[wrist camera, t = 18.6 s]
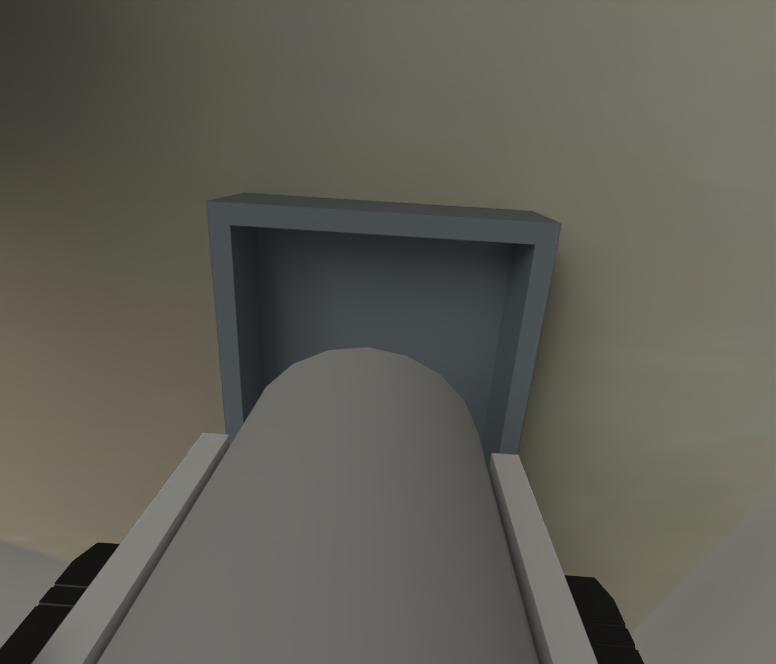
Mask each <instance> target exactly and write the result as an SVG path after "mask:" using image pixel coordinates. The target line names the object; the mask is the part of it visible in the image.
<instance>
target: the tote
mask: <svg viewBox="0 0 776 664" xmlns="http://www.w3.org/2000/svg"><path fill="white" fill-rule="evenodd" d="M207 213H208V225H209V237H210V249H211V261H212V273H213V285H214V297H215V309H216V321H217V333H218V345H219V357H220V369H221V381H222V393H223V405H224V417H225V429H226V434H228V435H229V443H230V445H231V444H232V442H233V440H234V439H235V437H236V435H237V434H238V432H239V430H240V429H241V427H242V426H243V424H244V422H245V421H246V419H247V417H248V416H249V414H250V413H251V411H252V409H253V408H254V406H255V404H256V403H257V401H258V399H259V398H260V396H261V395H262V393H263V391H264V390H265V388H266V387H267V386H268V385H269V384H270V383H271V382H272V381H274V380H275V379H276V378H277V377H278V376H280V375H281V374H282V373H283V372H284V371H285V370H287V369H288V368H289V367H290V366H291V365H292V364H294V363H297V362H300V361H302V360H305V359H307V358H310V357H312V356H315V355H317V354H320V353H322V352H325V351H327V350H338V349H351V348H365V347H369V348H373V349H378V350H382V351H387V352H391V353H396V354H401V355H405V356H408V357H410V358H411V359H413V360H415V361H417V362H419V363H420V364H422V365H424V366H426V367H428V368H429V369H431V370H433V371H435V372H436V373H438V374H440V375H441V376H442V377H443V378H444V379H445V380H446V381H447V382H448V383H449V385H450V386H451V387H452V388H453V389H454V390H455V391H456V392H457V393H458V394H459V395H460V396H461V398H462V399H463V400H464V401H465V403H466V405H467V407H468V410H469V412H470V414H471V417H472V419H473V422H474V424H475V426H476V429H477V431H478V434H479V438H480V442H481V445H482V449H483V453H484V457H485V461H486V464H487V468H488V472H489V466H490V460H491V454H492V453H499V454H513V455H517V454H518V449H519V444H520V439H521V433H522V428H523V423H524V418H525V413H526V407H527V402H528V397H529V392H530V387H531V381H532V376H533V371H534V366H535V360H536V355H537V350H538V345H539V340H540V334H541V329H542V324H543V319H544V314H545V308H546V303H547V298H548V293H549V287H550V282H551V277H552V272H553V267H554V261H555V256H556V251H557V246H558V241H559V235H560V230H561V225H562V223H559V222H557V221H554V220H552V219H550V218H547V217H545V216H543V215H540V214H538V213H536V212H533V211H522V210H506V209H490V208H474V207H458V206H442V205H426V204H410V203H394V202H378V201H362V200H347V199H331V198H315V197H299V196H283V195H267V194H251V193H241V194H237V195H232V196H228V197H223V198H219V199H214V200H210V201H207Z"/></svg>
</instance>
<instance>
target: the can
mask: <svg viewBox="0 0 776 664" xmlns="http://www.w3.org/2000/svg"><path fill="white" fill-rule="evenodd" d="M97 664H539V661H538V657H537V653H536V649H535V645H534V642H533V638H532V634H531V630H530V627H529V623H528V619H527V615H526V611H525V608H524V604H523V600H522V596H521V593H520V589H519V585H518V581H517V578H516V574H515V570H514V566H513V562H512V559H511V555H510V551H509V547H508V544H507V540H506V536H505V532H504V528H503V525H502V521H501V517H500V513H499V510H498V506H497V502H496V498H495V495H494V491H493V487H492V483H491V479H490V476H489V472H488V468H487V464H486V461H485V457H484V453H483V449H482V445H481V442H480V438H479V434H478V431H477V429H476V426H475V424H474V422H473V419H472V417H471V414H470V412H469V410H468V407H467V405H466V403H465V401H464V400H463V399H462V398H461V396H460V395H459V394H458V393H457V392H456V391H455V390H454V389H453V388H452V387H451V386H450V385H449V383H448V382H447V381H446V380H445V379H444V378H443V377H442V376H441V375H440V374H438V373H436V372H435V371H433V370H431V369H429V368H428V367H426V366H424V365H422V364H420V363H419V362H417V361H415V360H413V359H411V358H410V357H408V356H405V355H401V354H396V353H391V352H387V351H382V350H378V349H373V348H369V347H365V348H351V349H338V350H327V351H325V352H322V353H320V354H317V355H315V356H312V357H310V358H307V359H305V360H302V361H300V362H297V363H294V364H292V365H291V366H290V367H289V368H288V369H287V370H285V371H284V372H283V373H282V374H281V375H280V376H278V377H277V378H276V379H275V380H274V381H272V382H271V383H270V384H269V385H268V386H267V387H266V388H265V390H264V391H263V393H262V395H261V396H260V398H259V399H258V401H257V403H256V404H255V406H254V408H253V409H252V411H251V413H250V414H249V416H248V417H247V419H246V421H245V422H244V424H243V426H242V427H241V429H240V430H239V432H238V434H237V435H236V437H235V439H234V440H233V442H232V444H231V445H230V447H229V448H228V450H227V452H226V453H225V455H224V457H223V458H222V460H221V462H220V463H219V465H218V466H217V468H216V470H215V471H214V473H213V475H212V476H211V478H210V480H209V481H208V483H207V484H206V486H205V488H204V489H203V491H202V493H201V494H200V496H199V497H198V499H197V501H196V502H195V504H194V506H193V507H192V509H191V511H190V512H189V514H188V515H187V517H186V519H185V520H184V522H183V524H182V525H181V527H180V529H179V530H178V532H177V533H176V535H175V537H174V538H173V540H172V542H171V543H170V545H169V547H168V548H167V550H166V551H165V553H164V555H163V556H162V558H161V560H160V561H159V563H158V564H157V566H156V568H155V569H154V571H153V573H152V574H151V576H150V578H149V579H148V581H147V582H146V584H145V586H144V587H143V589H142V591H141V592H140V594H139V596H138V597H137V599H136V600H135V602H134V604H133V605H132V607H131V609H130V610H129V612H128V614H127V615H126V617H125V618H124V620H123V622H122V623H121V625H120V627H119V628H118V630H117V631H116V633H115V635H114V636H113V638H112V640H111V641H110V643H109V645H108V646H107V648H106V649H105V651H104V653H103V654H102V656H101V658H100V659H99V661H98V663H97Z"/></svg>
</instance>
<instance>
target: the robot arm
mask: <svg viewBox="0 0 776 664" xmlns="http://www.w3.org/2000/svg"><path fill="white" fill-rule="evenodd" d="M229 447H230V443H229V435H228V434H213V433H202V434H201V435H200V437H199V438H198V439H197V441H196V442H195V444H194V445H193V446H192V448H191V449H190V450H189V452H188V453H187V454H186V456H185V457H184V458H183V460H182V461H181V462H180V464H179V465H178V467H177V468H176V469H175V471H174V472H173V473H172V475H171V476H170V477H169V479H168V480H167V481H166V483H165V484H164V485H163V487H162V488H161V490H160V491H159V492H158V494H157V495H156V496H155V498H154V499H153V500H152V502H151V503H150V504H149V506H148V507H147V508H146V510H145V511H144V512H143V514H142V515H141V517H140V518H139V519H138V521H137V522H136V523H135V525H134V526H133V527H132V529H131V530H130V531H129V533H128V534H127V535H126V537H125V538H124V540H123V541H122V542H121V544H112V543H96V544H95V545H94V546H92V547H91V548H90V549H88V550H87V551H86V552H84V553H83V554H81V555H80V556H79V557H77V558H76V559H75V560H73V561H72V563H71V564H70V565H69V566H68V567H67V569H66V570H65V571H64V572H63V574H62V575H61V576H60V577H59V578H58V580H57V581H56V582H55V585H54V587H51V588H50V589H49V590H48V592H47V593H46V594H45V595H44V597H43V598H42V599H41V600H40V601H39V605H38V606H36V607H34V609H33V610H32V611H31V612H30V614H29V615H28V616H27V617H26V618H25V620H24V621H23V622H22V623H21V624H20V626H19V627H18V628H17V629H16V631H15V632H14V633H13V634H12V635H11V636H10V638H9V639H8V640H7V641H6V643H5V644H4V645H3V646H2V647H1V649H0V664H97V663H98V661H99V659H100V658H101V656H102V654H103V653H104V651H105V649H106V648H107V646H108V645H109V643H110V641H111V640H112V638H113V636H114V635H115V633H116V631H117V630H118V628H119V627H120V625H121V623H122V622H123V620H124V618H125V617H126V615H127V614H128V612H129V610H130V609H131V607H132V605H133V604H134V602H135V600H136V599H137V597H138V596H139V594H140V592H141V591H142V589H143V587H144V586H145V584H146V582H147V581H148V579H149V578H150V576H151V574H152V573H153V571H154V569H155V568H156V566H157V564H158V563H159V561H160V560H161V558H162V556H163V555H164V553H165V551H166V550H167V548H168V547H169V545H170V543H171V542H172V540H173V538H174V537H175V535H176V533H177V532H178V530H179V529H180V527H181V525H182V524H183V522H184V520H185V519H186V517H187V515H188V514H189V512H190V511H191V509H192V507H193V506H194V504H195V502H196V501H197V499H198V497H199V496H200V494H201V493H202V491H203V489H204V488H205V486H206V484H207V483H208V481H209V480H210V478H211V476H212V475H213V473H214V471H215V470H216V468H217V466H218V465H219V463H220V462H221V460H222V458H223V457H224V455H225V453H226V452H227V450H228V448H229ZM489 476H490V479H491V483H492V487H493V491H494V495H495V498H496V502H497V506H498V510H499V513H500V517H501V521H502V525H503V528H504V532H505V536H506V540H507V544H508V547H509V551H510V555H511V559H512V562H513V566H514V570H515V574H516V578H517V581H518V585H519V589H520V593H521V596H522V600H523V604H524V608H525V611H526V615H527V619H528V623H529V627H530V630H531V634H532V638H533V642H534V645H535V649H536V653H537V657H538V661H539V664H644V663H643V661H642V658H641V656H640V654H639V652H638V650H636V649H635V643H634V641H633V639H632V637H631V635H630V633H629V631H628V629H626V627H625V622H624V620H623V618H622V616H621V614H620V612H619V610H618V607H617V605H616V603H615V601H614V599H613V598H612V597H611V596H610V595H609V593H608V592H607V591H606V590H605V589H604V588H603V587H602V586H601V584H600V583H599V582H598V581H597V580H596V579H595V578H593V577H580V576H566V575H564V573H563V571H562V568H561V565H560V563H559V560H558V558H557V555H556V552H555V550H554V547H553V544H552V542H551V539H550V537H549V534H548V531H547V529H546V526H545V523H544V521H543V518H542V515H541V513H540V510H539V508H538V505H537V502H536V500H535V497H534V494H533V492H532V489H531V487H530V484H529V481H528V479H527V476H526V473H525V471H524V468H523V466H522V463H521V460H520V458H519V455H513V454H499V453H492V454H491V460H490V466H489Z"/></svg>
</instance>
